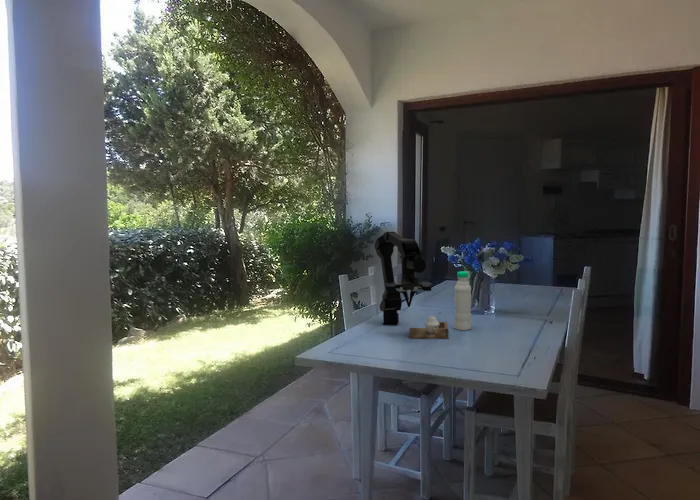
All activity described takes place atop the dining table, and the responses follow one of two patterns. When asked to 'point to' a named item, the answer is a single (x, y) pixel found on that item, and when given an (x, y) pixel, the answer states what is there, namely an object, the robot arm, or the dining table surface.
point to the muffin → (431, 324)
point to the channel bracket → (424, 334)
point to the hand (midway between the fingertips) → (408, 306)
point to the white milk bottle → (462, 302)
